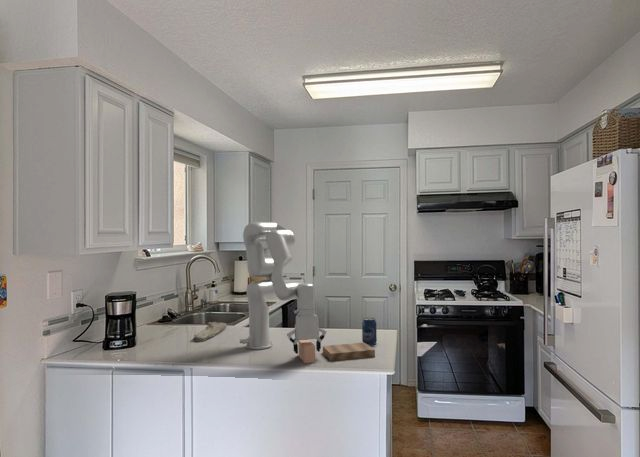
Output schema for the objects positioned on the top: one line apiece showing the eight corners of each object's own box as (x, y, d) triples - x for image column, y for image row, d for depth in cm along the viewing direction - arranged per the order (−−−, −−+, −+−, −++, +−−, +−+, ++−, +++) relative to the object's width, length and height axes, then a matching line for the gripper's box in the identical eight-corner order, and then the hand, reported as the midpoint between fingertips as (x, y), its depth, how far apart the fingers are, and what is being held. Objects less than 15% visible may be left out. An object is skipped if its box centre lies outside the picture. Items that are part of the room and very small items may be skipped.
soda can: (362, 345, 208) (361, 320, 209) (362, 341, 215) (362, 317, 215) (376, 345, 207) (376, 320, 207) (376, 341, 214) (376, 317, 214)
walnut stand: (331, 360, 184) (330, 353, 184) (322, 352, 196) (322, 346, 196) (375, 356, 189) (374, 349, 189) (364, 348, 202) (364, 342, 202)
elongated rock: (188, 345, 221) (206, 346, 219) (188, 334, 220) (207, 336, 219) (214, 326, 255) (230, 327, 254) (214, 317, 255) (230, 318, 254)
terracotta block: (304, 363, 181) (304, 346, 181) (298, 355, 193) (298, 339, 193) (315, 362, 182) (315, 345, 183) (308, 354, 194) (308, 339, 194)
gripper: (288, 315, 182) (289, 356, 182) (327, 312, 186) (329, 352, 186) (284, 312, 189) (286, 351, 189) (323, 309, 194) (324, 348, 193)
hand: (307, 351), depth 187 cm, fingers open, 9 cm apart
